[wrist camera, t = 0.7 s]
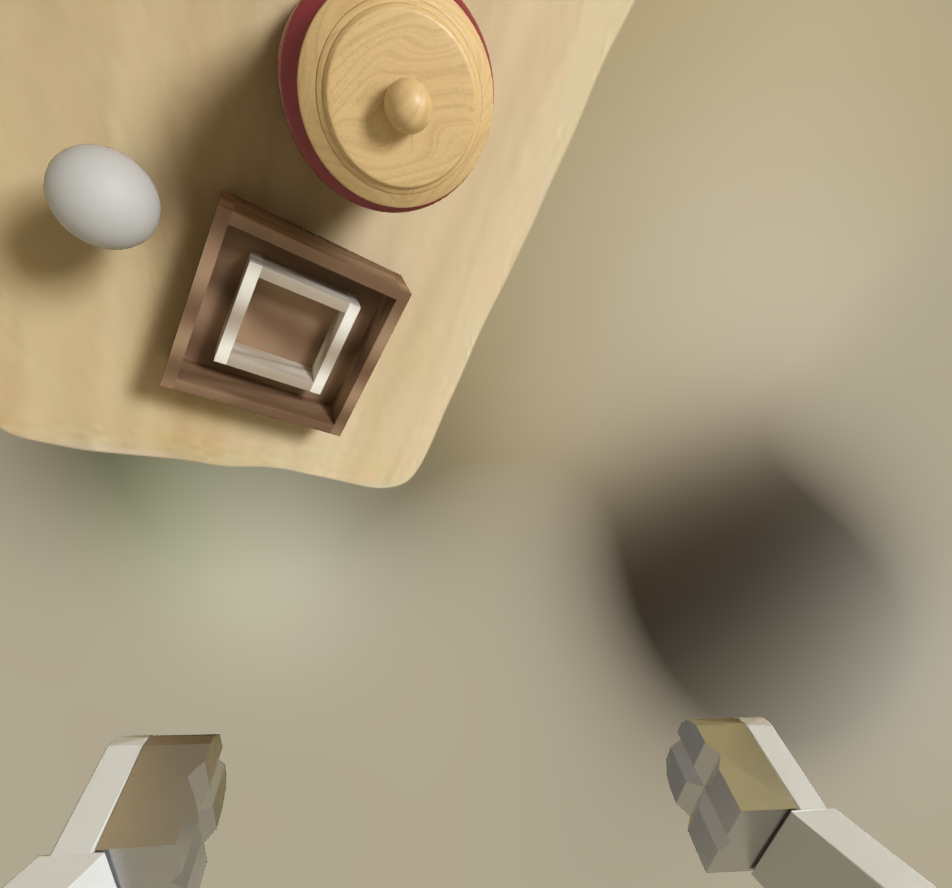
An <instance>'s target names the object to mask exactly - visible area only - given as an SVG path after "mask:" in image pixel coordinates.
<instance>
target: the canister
mask: <svg viewBox="0 0 952 888" xmlns="http://www.w3.org/2000/svg"><path fill="white" fill-rule="evenodd" d="M277 74H278V85H279V91H280V96H281V101H282V105H283V109H284V113H285V116H286V120H287V123H288V126H289V128H290V131H291V134H292V136H293V138H294V140H295V142H296V145H297V146H298V148H299V150H300V152H301V154H302V155H303V157H304V158H305V160H306V161H307V163H308V164H309V165H310V167H311V168H312V169H313V171H314V172H315V173H316V174H317V175H318V176H319V177H320V178H321V180H322V181H323V182H324V183H326V184H327V185H328V186H329V187H330V188H331V189H333V190H334V191H335V192H336V193H338V194H339V195H341V196H342V197H344V198H345V199H347V200H349V201H351V202H353V203H355V204H357V205H359V206H362V207H365V208H368V209H371V210H375V211H380V212H389V213H401V212H410V211H415V210H419V209H422V208H425V207H428V206H430V205H432V204H434V203H436V202H438V201H440V200H442V199H443V198H445V197H446V196H447V195H449V194H450V193H451V192H453V191H454V190H455V189H456V188H457V187H458V186H459V185H460V184H461V183H462V182H463V181H464V180H465V179H466V177H467V176H468V175H469V173H470V172H471V171H472V169H473V168H474V166H475V164H476V163H477V161H478V159H479V157H480V155H481V153H482V151H483V149H484V146H485V144H486V141H487V138H488V134H489V131H490V126H491V121H492V115H493V105H494V84H493V74H492V68H491V62H490V58H489V54H488V51H487V47H486V44H485V41H484V39H483V36H482V34H481V31H480V29H479V27H478V25H477V23H476V21H475V19H474V17H473V16H472V14H471V12H470V11H469V9H468V8H467V6H466V5H465V4H464V2H463V1H462V0H300V1H299V2H298V3H297V5H296V6H295V8H294V9H293V11H292V12H291V14H290V16H289V18H288V20H287V22H286V24H285V27H284V30H283V33H282V36H281V40H280V45H279V50H278V60H277Z"/></svg>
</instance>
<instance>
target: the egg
mask: <svg viewBox="0 0 952 888" xmlns="http://www.w3.org/2000/svg"><path fill="white" fill-rule="evenodd" d="M43 185H44V193H45V197H46V200H47V203H48V206H49V208H50V209H51V211H52V213H53V215H54V216H55V218H56V219H57V220H58V221H59V223H60V224H61V225H62V226H63V227H64V228H65V229H66V230H67V231H68V232H70V233H71V234H72V235H74V236H75V237H77V238H78V239H80V240H82V241H84V242H86V243H88V244H90V245H93V246H96V247H100V248H105V249H111V250H122V249H127V248H132V247H134V246H137V245H139V244H142V243H143V242H144V241H146V240H147V239H149V237H150V236H151V235H152V234H153V233H154V231H155V229H156V227H157V225H158V223H159V219H160V215H161V205H160V200H159V196H158V193H157V191H156V188H155V186H154V184H153V182H152V181H151V179H150V178H149V176H148V174H147V173H146V172H145V171H144V170H143V169H142V168H141V167H140V166H139V165H138V164H137V163H136V162H134V161H133V160H132V159H131V158H129V157H127V156H126V155H124V154H123V153H121V152H118V151H116V150H114V149H111V148H109V147H105V146H101V145H95V144H81V145H74V146H72V147H69V148H66V149H64V150H62V151H61V152H60V153H58V154H57V155H55V156H54V158H53V159H52V160H51V161H50V163H49V164H48V167H47V169H46V172H45V176H44V184H43Z"/></svg>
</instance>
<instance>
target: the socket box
mask: <svg viewBox="0 0 952 888" xmlns="http://www.w3.org/2000/svg"><path fill="white" fill-rule="evenodd" d="M411 295H412V294H411V292H410V291H409V289H408V287H407V285H406V284H405V282H404V280H403V278H402V277H401V275H399V274H397V273H395V272H393V271H391V270H388V269H386V268H384V267H382V266H380V265H378V264H376V263H374V262H372V261H370V260H368V259H365V258H363V257H361V256H359V255H357V254H355V253H353V252H351V251H349V250H347V249H345V248H342V247H340V246H338V245H336V244H334V243H332V242H330V241H328V240H326V239H324V238H322V237H319V236H317V235H315V234H313V233H311V232H309V231H307V230H305V229H303V228H301V227H299V226H296V225H294V224H292V223H290V222H288V221H286V220H284V219H282V218H280V217H278V216H276V215H273V214H271V213H269V212H267V211H265V210H263V209H261V208H259V207H257V206H255V205H253V204H250V203H248V202H246V201H244V200H242V199H240V198H238V197H236V196H234V195H232V194H230V193H227V192H225V191H223V190H222V193H221V196H220V199H219V202H218V205H217V208H216V212H215V215H214V218H213V221H212V224H211V227H210V230H209V233H208V236H207V240H206V243H205V246H204V249H203V252H202V255H201V258H200V261H199V264H198V268H197V271H196V274H195V277H194V280H193V283H192V286H191V289H190V292H189V296H188V299H187V302H186V305H185V308H184V311H183V314H182V317H181V320H180V324H179V327H178V330H177V333H176V336H175V339H174V342H173V345H172V348H171V351H170V355H169V358H168V361H167V364H166V367H165V370H164V374H163V377H162V380H161V383H160V385H161V386H164V387H168V388H171V389H175V390H178V391H182V392H185V393H189V394H192V395H196V396H200V397H203V398H207V399H210V400H214V401H217V402H221V403H224V404H228V405H231V406H235V407H238V408H242V409H245V410H249V411H253V412H256V413H260V414H263V415H267V416H270V417H274V418H277V419H281V420H284V421H288V422H291V423H295V424H299V425H302V426H306V427H309V428H313V429H316V430H320V431H323V432H327V433H330V434H334V435H337V436H340V435H341V433H342V431H343V429H344V427H345V425H346V423H347V421H348V419H349V417H350V415H351V413H352V411H353V409H354V407H355V405H356V403H357V401H358V399H359V397H360V395H361V393H362V391H363V389H364V387H365V385H366V383H367V381H368V380H369V378H370V376H371V374H372V372H373V370H374V368H375V366H376V364H377V362H378V360H379V358H380V356H381V354H382V352H383V350H384V348H385V346H386V344H387V342H388V340H389V338H390V336H391V334H392V332H393V330H394V328H395V326H396V324H397V322H398V320H399V318H400V316H401V314H402V312H403V311H404V309H405V307H406V305H407V303H408V301H409V299H410V297H411Z"/></svg>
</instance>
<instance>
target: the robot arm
mask: <svg viewBox="0 0 952 888" xmlns="http://www.w3.org/2000/svg"><path fill="white" fill-rule="evenodd" d="M678 734H679V736H680V738H681V740H680V741H678V742H677V743H676V744H674V745H673V746H672V747H671V748H670V750H669V754H668V756H667V759H666V766H667V777H668V781H669V786H670V789H671V791H672V794H673V796H674V799H675V801H676V803H677V804H678V805H679V806H680V807H681V808H682V809H683V810H684V811H685V812H686V813H687V814H688V815H689V816H690V819H689V826H688V832H689V834H690V836H691V839H692V841H693V844H694V846H695V848H696V851H697V852H698V855H699V857H700V860H701V862H702V864H703V866H704V869H705V871H706V872H707V873H711V872H712V873H713V872H734V871H753V872H752V875H753V876H754V877H755V878H756V880H757V881H758V882H759V883H760V884H761V885H762V886H763V887H764V888H936V887H935V886H934V885H933V884H931V883H930V882H929V881H928V880H926V879H925V878H924V877H922V876H921V875H920V874H919V873H917V872H916V871H915V870H913V869H912V868H911V867H910V866H908V865H907V864H906V863H904V862H903V861H902V860H900V859H899V858H898V857H897V856H895V855H894V854H893V853H891V852H890V851H889V850H888V849H886V848H885V847H884V846H882V845H881V844H880V843H879V842H877V841H876V840H875V839H874V838H872V837H871V836H870V835H868V834H867V833H866V832H865V831H863V830H862V829H861V828H859V827H858V826H857V825H856V824H854V823H853V822H852V821H850V820H849V819H848V818H846V817H845V816H844V815H843V814H841V813H840V812H838V811H837V810H836V809H835V808H826V806H825V805H824V804H823V802H822V800H821V799H820V797H819V796H818V794H817V793H816V791H815V790H814V788H813V787H812V785H811V784H810V782H809V781H808V779H807V778H806V776H805V775H804V773H803V772H802V770H801V769H800V767H799V766H798V764H797V763H796V761H795V760H794V758H793V757H792V755H791V754H790V752H789V751H788V749H787V748H786V746H785V745H784V743H783V742H782V740H781V739H780V737H779V736H778V734H777V733H776V731H775V730H774V728H773V727H772V725H771V724H770V723H769V722H768V721H767V720H765V719H764V718H762V717H743V718H734V717H725V718H706V719H688V720H685V721H684V722H682V723H681V725H680V727H679V729H678ZM221 750H222V743H221V738H220V734H207V735H206V734H205V735H160V736H159V735H156V736H154V735H142V736H140V735H139V736H116V738H115V739H114V740H113V741H112V742H111V743H110V744H109V745H108V747H107V748H106V749H105V751H104V753H103V755H102V757H101V759H100V761H99V763H98V765H97V766H96V768H95V770H94V772H93V774H92V776H91V778H90V780H89V782H88V784H87V785H86V787H85V789H84V791H83V793H82V795H81V797H80V799H79V801H78V802H77V804H76V806H75V808H74V810H73V812H72V814H71V816H70V818H69V820H68V821H67V823H66V825H65V827H64V829H63V831H62V833H61V835H60V837H59V839H58V841H57V842H56V844H55V846H54V848H53V850H52V852H51V854H50V855H42V856H38V857H36V858H35V859H34V860H33V861H32V862H31V863H30V864H29V865H27V866H26V867H25V868H24V869H23V870H22V871H21V872H20V873H18V874H17V875H16V876H15V877H14V878H13V879H12V880H10V881H9V882H8V883H7V884H6V885H5V886H4V887H3V888H199V887H200V884H201V880H202V877H203V874H204V870H205V867H206V863H207V857H206V852H205V846H204V842H205V841H206V840H207V839H208V838H209V836H210V835H211V834H212V833H213V832H214V831H215V830H216V829H217V826H218V822H219V818H220V815H221V811H222V806H223V801H224V795H225V790H226V769H225V764H224V763H223V762H221V761H220V760H219V756H220V753H221Z"/></svg>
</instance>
